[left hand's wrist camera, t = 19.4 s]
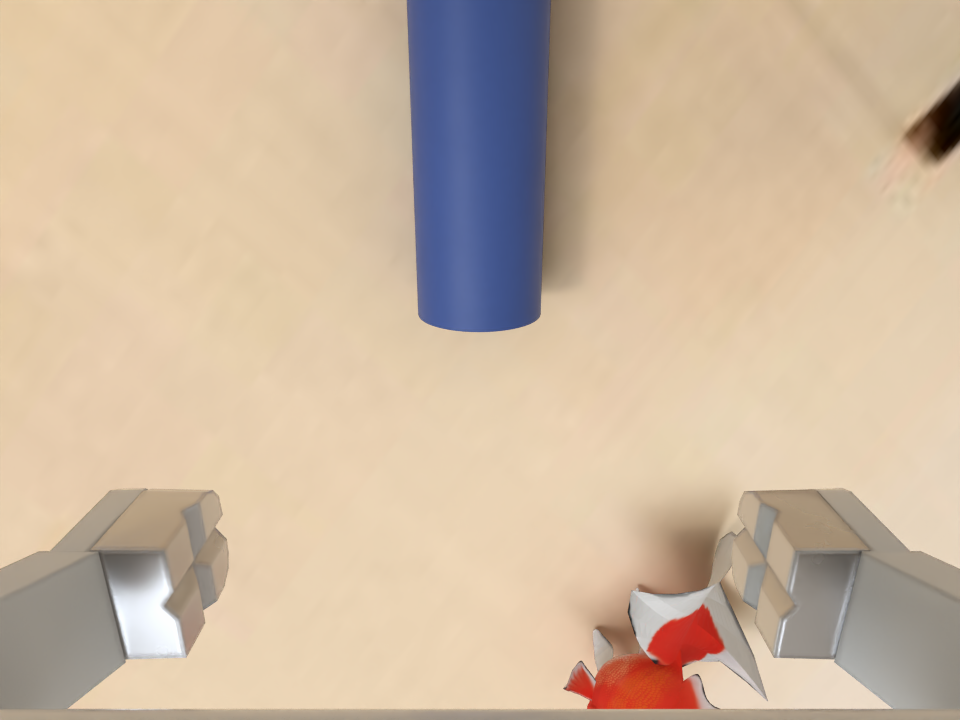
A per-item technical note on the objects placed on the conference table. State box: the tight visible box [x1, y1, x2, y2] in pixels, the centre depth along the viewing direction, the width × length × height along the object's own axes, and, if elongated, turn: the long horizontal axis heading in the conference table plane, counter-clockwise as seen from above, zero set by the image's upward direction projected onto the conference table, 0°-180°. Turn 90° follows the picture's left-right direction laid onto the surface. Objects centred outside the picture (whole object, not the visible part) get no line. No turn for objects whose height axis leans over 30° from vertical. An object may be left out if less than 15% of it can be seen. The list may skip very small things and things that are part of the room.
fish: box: [563, 532, 768, 709], centre depth 39 cm, size 11×16×10 cm
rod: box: [407, 0, 551, 332], centre depth 28 cm, size 23×6×6 cm, turn 0°
